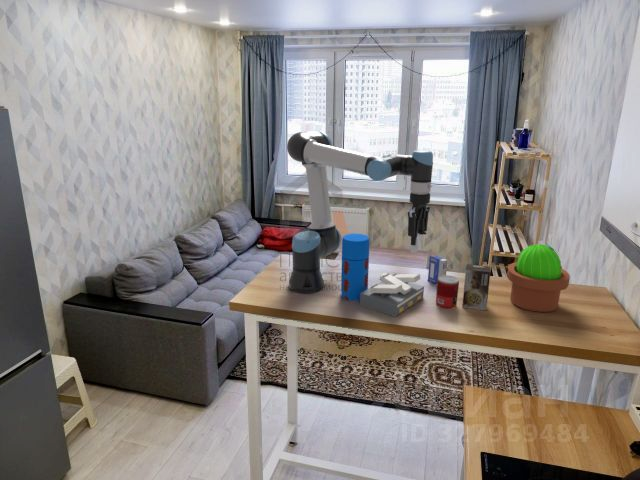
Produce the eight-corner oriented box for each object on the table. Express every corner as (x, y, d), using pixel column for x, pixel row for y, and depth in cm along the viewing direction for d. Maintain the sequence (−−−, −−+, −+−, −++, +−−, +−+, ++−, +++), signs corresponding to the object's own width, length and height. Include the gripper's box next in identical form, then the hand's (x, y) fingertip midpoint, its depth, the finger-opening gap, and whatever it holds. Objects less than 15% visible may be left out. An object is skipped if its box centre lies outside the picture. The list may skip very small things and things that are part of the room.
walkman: (427, 280, 207) (429, 255, 203) (432, 279, 208) (434, 254, 204) (440, 286, 200) (443, 260, 197) (445, 285, 202) (447, 259, 198)
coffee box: (486, 304, 184) (491, 266, 179) (486, 311, 178) (491, 271, 173) (462, 301, 186) (466, 263, 182) (461, 307, 181) (465, 269, 176)
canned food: (457, 309, 179) (459, 283, 175) (435, 307, 180) (438, 281, 177) (455, 301, 186) (458, 276, 183) (435, 299, 187) (437, 274, 184)
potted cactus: (504, 310, 179) (512, 248, 171) (503, 288, 198) (511, 232, 191) (567, 319, 172) (579, 255, 164) (560, 296, 191) (570, 238, 184)
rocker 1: (370, 292, 180) (369, 286, 180) (376, 289, 184) (375, 283, 183) (396, 293, 172) (395, 287, 172) (402, 289, 176) (401, 283, 175)
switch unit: (359, 304, 183) (360, 289, 181) (389, 287, 199) (390, 273, 197) (395, 316, 173) (396, 300, 171) (423, 297, 189) (424, 282, 187)
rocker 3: (389, 282, 191) (388, 276, 190) (394, 279, 194) (393, 273, 194) (414, 282, 183) (413, 276, 182) (420, 278, 186) (419, 273, 186)
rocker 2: (379, 279, 185) (380, 274, 184) (385, 276, 188) (386, 271, 187) (404, 294, 179) (406, 289, 178) (410, 291, 182) (411, 286, 181)
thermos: (335, 295, 191) (336, 237, 184) (352, 287, 199) (353, 231, 191) (356, 303, 184) (358, 243, 177) (372, 295, 192) (375, 237, 184)
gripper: (418, 197, 166) (414, 258, 173) (439, 190, 178) (434, 248, 185) (400, 194, 171) (397, 254, 178) (421, 187, 183) (417, 244, 190)
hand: (416, 251), depth 182 cm, fingers open, 3 cm apart
